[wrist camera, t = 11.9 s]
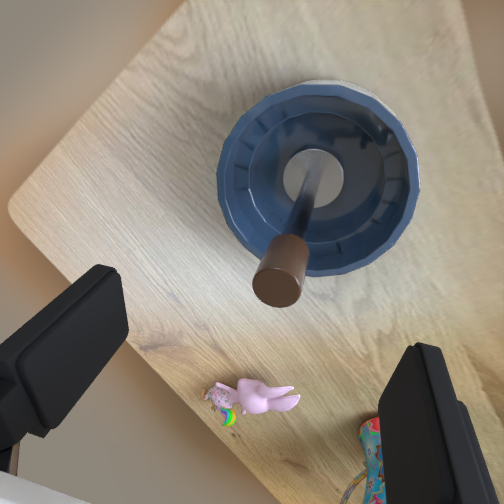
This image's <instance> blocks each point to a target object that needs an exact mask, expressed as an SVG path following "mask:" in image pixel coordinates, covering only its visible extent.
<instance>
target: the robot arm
mask: <svg viewBox="0 0 504 504" xmlns="http://www.w3.org/2000/svg"><path fill="white" fill-rule="evenodd" d="M128 332H129V327H128V320H127V314H126V308H125V301H124V295H123V289H122V282H121V276H120V274H119V273H117V270H116V269H115V268H113V267H109V266H105V265H100V264H96V265H95V266H93V267H92V268H91V269H90V270H88V271H87V272H86V273H85V274H84V275H82V276H81V277H80V278H79V279H78V280H77V281H75V282H74V283H73V284H72V285H71V286H69V287H68V288H67V289H66V290H65V291H64V292H62V293H61V294H60V295H59V296H58V297H56V298H55V299H54V300H53V301H52V302H50V303H49V304H48V305H47V306H46V307H44V308H43V309H42V310H41V311H40V312H38V313H37V314H36V315H35V316H34V317H32V319H30V320H29V321H28V322H27V323H25V324H24V325H23V326H22V327H21V328H19V329H18V330H17V331H16V332H15V333H13V334H12V335H11V336H10V337H9V338H8V339H6V340H5V341H4V342H3V343H1V344H0V504H90V503H88V502H85V501H82V500H80V499H77V498H74V497H71V496H69V495H66V494H63V493H61V492H58V491H55V490H52V489H50V488H47V487H44V486H42V485H39V484H36V483H33V482H31V481H28V480H25V479H23V478H20V477H17V468H18V458H19V447H20V440H21V439H22V438H23V437H24V436H25V435H26V433H27V432H28V433H30V434H33V435H36V436H39V437H42V438H44V437H45V436H46V435H47V434H48V432H49V431H50V430H51V429H54V428H56V427H57V426H59V424H60V423H61V422H62V421H63V419H64V418H65V417H66V416H67V414H68V413H69V412H70V410H71V409H72V408H73V407H74V405H75V404H76V403H77V401H78V400H79V399H80V398H81V396H82V395H83V394H84V392H85V391H86V390H87V388H88V387H89V386H90V385H91V383H92V382H93V381H94V379H95V378H96V377H97V376H98V374H99V373H100V372H101V370H102V369H103V368H104V366H105V365H106V364H107V363H108V361H109V360H110V359H111V357H112V356H113V355H114V354H115V352H116V351H117V349H118V348H119V347H120V346H121V345H122V343H123V342H124V341H125V339H126V338H127V336H128ZM378 414H379V425H380V436H381V448H382V459H383V470H384V481H385V492H386V504H499V501H498V498H497V495H496V492H495V489H494V486H493V483H492V481H491V478H490V475H489V472H488V469H487V466H486V463H485V460H484V457H483V454H482V451H481V448H480V445H479V442H478V439H477V436H476V433H475V431H474V428H473V425H472V422H471V419H470V416H469V413H468V410H467V408H466V406H465V405H464V404H463V403H462V402H461V401H459V400H457V398H456V394H455V391H454V388H453V385H452V382H451V379H450V376H449V373H448V369H447V366H446V363H445V360H444V357H443V354H442V351H441V349H440V348H439V347H436V346H432V345H428V344H423V343H419V342H417V343H416V344H415V345H414V346H411V345H409V346H408V347H407V349H406V350H405V352H404V354H403V356H402V358H401V360H400V362H399V364H398V365H397V367H396V369H395V371H394V373H393V375H392V377H391V378H390V380H389V382H388V384H387V386H386V388H385V390H384V392H383V393H382V395H381V397H380V400H379V404H378Z"/></svg>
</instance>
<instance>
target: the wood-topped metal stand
mask: <svg viewBox="0 0 504 504" xmlns="http://www.w3.org/2000/svg"><path fill="white" fill-rule="evenodd" d="M344 176H345V172H344V166H343V163H342V161H341V159H340V158H339V156H338V155H337V154H336V153H335V152H334V151H332V150H331V149H329V148H327V147H324V146H319V145H311V146H307V147H304V148H302V149H300V150H298V151H297V152H295V153H294V154H293V155H292V156H291V158H290V159H289V161H288V162H287V164H286V166H285V168H284V171H283V186H284V189H285V191H286V193H287V195H288V196H289V197H290V198H291V199H292V200H293V201H294V202H295V203H294V206H293V208H292V211H291V213H290V215H289V218H288V220H287V223H286V225H285V228H284V230H283V233H282V234H280V235H277V236H275V237H274V238H273V239H272V240H271V241H270V243H269V245H268V247H267V249H266V251H265V253H264V256H263V258H262V260H261V262H260V264H259V267H258V269H257V271H256V273H255V275H254V278H253V281H252V286H253V290H254V293H255V294H256V296H257V297H258V298H259V299H260V300H261V301H262V302H263V303H265V304H267V305H269V306H272V307H277V308H283V307H288V306H291V305H293V304H294V303H295V302H296V301H297V300H298V299H299V297H300V295H301V291H302V287H303V282H304V278H305V273H306V269H307V264H308V260H309V248H308V246H307V244H306V243H305V237H306V234H307V230H308V226H309V222H310V219H311V215H312V211H313V208H319V207H323V206H326V205H328V204H330V203H331V202H333V201H334V200H335V199H336V198H337V197H338V195H339V194H340V192H341V190H342V188H343V185H344Z"/></svg>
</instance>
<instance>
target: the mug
mask: <svg viewBox="0 0 504 504" xmlns="http://www.w3.org/2000/svg"><path fill="white" fill-rule="evenodd" d="M358 438H359V441H360V443H361V445H362V447H363V450H364V453H365V458H366V462H364V461H363V465H364V466H365V467H366V469H365V470H364V471H363V472H361V473H360V474H359V475H358V476H357V477H356V478H355V479H354V480H353V481H352V482H351V483H350V485H349V486H348V487H347V489H346V491H345V493H344V495H343V497H342V500H341V503H340V504H346V503H347V500H348V498H349V496H350V494H351V493H352V491H353V490H354V488H355V487H356V486H357V485H358V484H359V482H361V481H362V480H363V479H364V478H365V477H367V483H366V491H365V496H364V500H363V503H362V504H386V492H385V481H384V470H383V459H382V448H381V436H380V425H379V417H375V418H372V419H370V420H368V421H366V422H365V423H363V424H362V425H361V427H360V429H359V432H358Z"/></svg>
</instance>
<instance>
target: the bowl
mask: <svg viewBox="0 0 504 504" xmlns="http://www.w3.org/2000/svg"><path fill="white" fill-rule="evenodd" d="M311 145H319V146H324V147H327V148H329V149H331V150H332V151H334V152H335V153H336V154H337V155H338V156H339V158H340V159H341V161H342V163H343V166H344V172H345V176H344V185H343V188H342V190H341V192H340V194H339V195H338V197H337V198H336V199H335V200H334V201H333V202H331V203H330V204H328V205H326V206H323V207H319V208H313V211H312V215H311V219H310V222H309V226H308V230H307V234H306V237H305V243H306V244H307V246H308V248H309V260H308V264H307V269H306V273H305V276H309V277H323V276H333V275H342V274H346V273H348V272H351V271H353V270H356V269H358V268H361V267H364V266H366V265H369V264H370V263H372V262H373V261H374V260H376V259H377V258H378V257H379V256H381V255H382V254H383V253H385V252H386V251H387V250H389V249H390V248H391V247H392V246H393V245H394V244H395V243H396V242H397V240H398V239H399V237H400V236H401V234H402V233H403V232H404V230H405V229H406V227H407V226H408V224H409V223H410V221H411V219H412V217H413V213H414V210H415V206H416V203H417V199H418V195H419V192H420V178H419V166H418V156H417V153H416V151H415V149H414V146H413V144H412V142H411V140H410V138H409V136H408V134H407V132H406V130H405V128H404V126H403V124H402V123H401V121H400V120H399V119H398V117H397V116H396V115H395V113H394V112H393V111H392V110H391V109H390V108H389V107H388V106H387V105H385V104H384V103H383V102H382V101H381V100H380V99H379V98H378V97H377V96H376V95H375V94H373V93H372V92H371V91H369V90H366V89H364V88H361V87H358V86H356V85H353V84H351V83H348V82H346V81H343V80H342V81H341V80H308V81H305V82H302V83H299V84H296V85H293V86H290V87H287V88H284V89H282V90H279V91H277V92H275V93H272V94H270V95H268V96H266V97H265V98H264V99H263V100H261V101H260V102H259V103H257V104H256V105H255V106H254V107H252V108H251V109H250V110H249V111H247V112H246V113H245V114H243V115H242V116H241V117H240V119H239V120H238V122H237V123H236V125H235V126H234V128H233V130H232V131H231V133H230V134H229V136H228V137H227V139H226V140H225V142H224V144H223V148H222V152H221V156H220V160H219V164H218V168H217V172H216V175H217V191H218V201H219V204H220V206H221V209H222V212H223V214H224V217H225V220H226V223H227V225H228V227H229V228H230V229H231V231H232V232H233V233H234V235H235V236H236V237H237V239H238V240H239V241H240V243H241V244H242V245H243V246H244V247H245V248H246V249H247V250H248V251H250V252H251V253H252V254H253V255H255V256H256V257H257V258H259V259H260V260H262V258H263V256H264V253H265V251H266V249H267V247H268V245H269V243H270V241H271V240H272V239H273V238H274V237H275V236H277V235H280V234H282V233H283V230H284V228H285V225H286V223H287V220H288V218H289V215H290V213H291V211H292V208H293V206H294V203H295V202H294V201H293V200H292V199H291V198H290V197H289V196H288V195H287V193H286V191H285V189H284V186H283V171H284V168H285V166H286V164H287V162H288V161H289V159H290V158H291V156H292V155H293V154H294V153H295V152H297V151H298V150H300V149H302V148H304V147H307V146H311Z"/></svg>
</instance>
